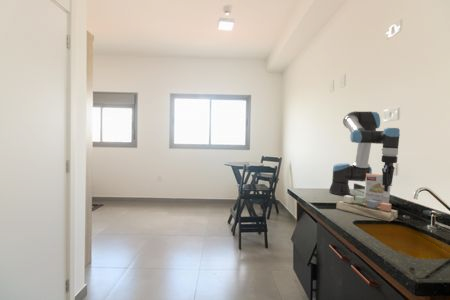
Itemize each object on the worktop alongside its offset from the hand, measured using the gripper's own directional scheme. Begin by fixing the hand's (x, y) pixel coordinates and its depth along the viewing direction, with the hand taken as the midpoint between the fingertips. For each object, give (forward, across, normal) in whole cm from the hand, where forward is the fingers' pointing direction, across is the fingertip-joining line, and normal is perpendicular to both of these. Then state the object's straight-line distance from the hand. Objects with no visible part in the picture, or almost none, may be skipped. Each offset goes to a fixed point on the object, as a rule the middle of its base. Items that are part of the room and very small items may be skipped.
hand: (386, 196), depth 157 cm
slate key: (+10, 0, -7) cm, 12 cm away
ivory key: (+10, 0, -21) cm, 23 cm away
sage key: (+9, 0, -14) cm, 16 cm away
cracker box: (+12, -22, -12) cm, 28 cm away
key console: (+12, 0, -10) cm, 16 cm away
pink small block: (+10, 0, 0) cm, 10 cm away
